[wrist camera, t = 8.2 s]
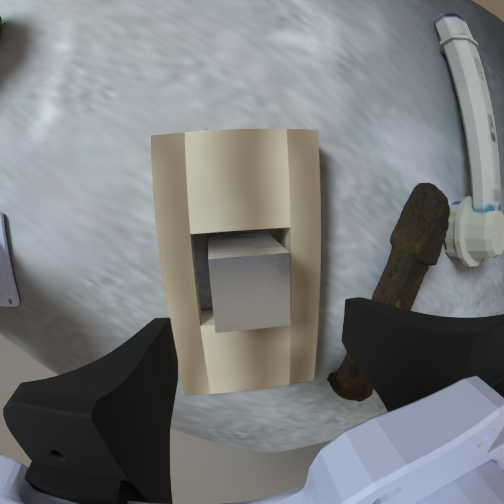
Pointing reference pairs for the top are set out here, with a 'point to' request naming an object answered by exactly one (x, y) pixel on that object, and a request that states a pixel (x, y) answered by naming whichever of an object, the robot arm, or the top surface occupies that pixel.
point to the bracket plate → (235, 219)
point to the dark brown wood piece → (402, 271)
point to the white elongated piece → (473, 150)
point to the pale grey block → (249, 282)
